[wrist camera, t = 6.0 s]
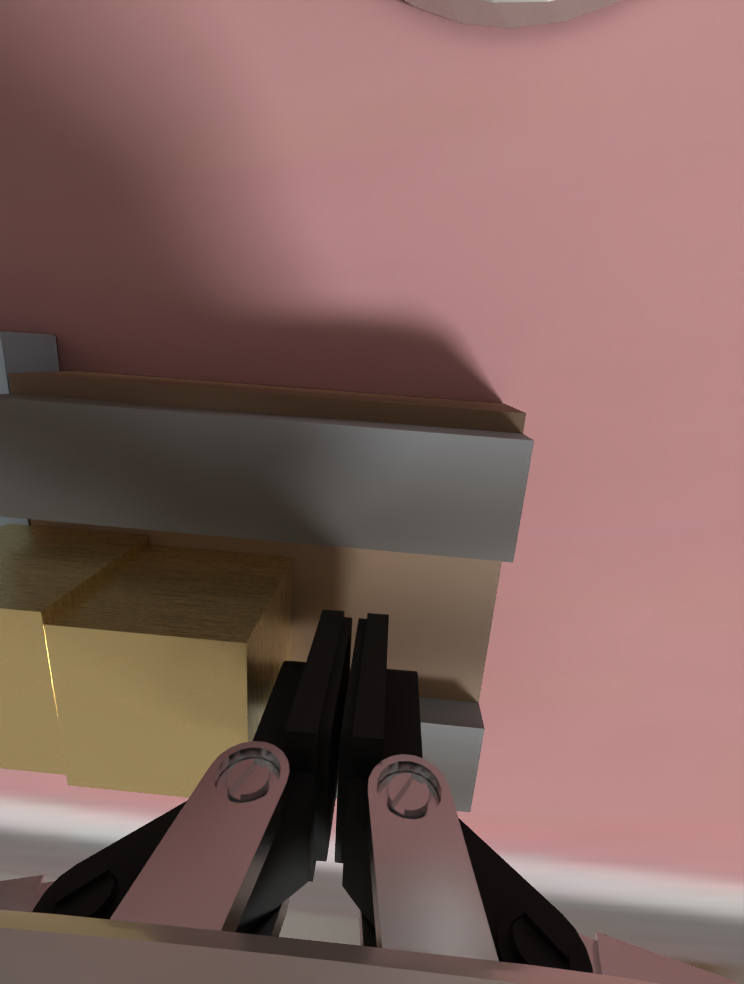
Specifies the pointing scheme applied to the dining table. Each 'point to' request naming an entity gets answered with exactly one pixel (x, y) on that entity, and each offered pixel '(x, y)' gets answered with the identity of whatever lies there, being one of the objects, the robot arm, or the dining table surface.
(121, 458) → the slot bed
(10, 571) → the tan wooden cube
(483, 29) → the dining table surface
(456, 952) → the robot arm
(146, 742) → the light brown cube
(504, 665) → the dining table surface
